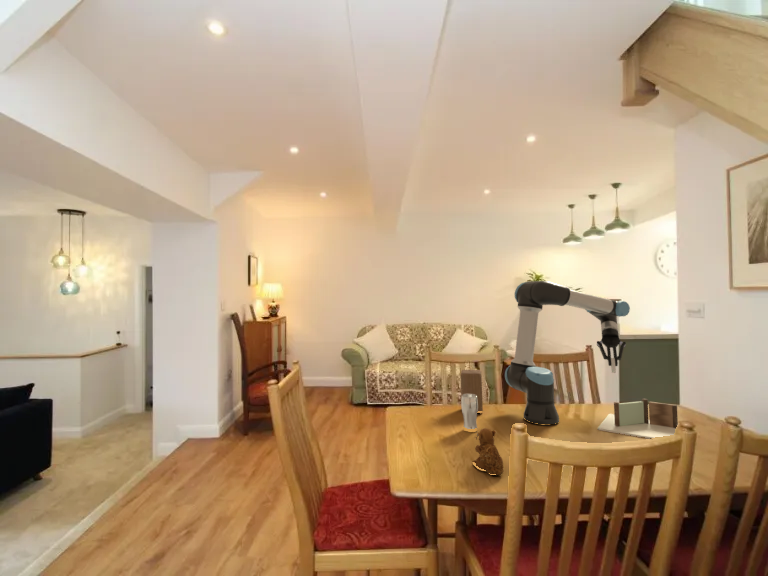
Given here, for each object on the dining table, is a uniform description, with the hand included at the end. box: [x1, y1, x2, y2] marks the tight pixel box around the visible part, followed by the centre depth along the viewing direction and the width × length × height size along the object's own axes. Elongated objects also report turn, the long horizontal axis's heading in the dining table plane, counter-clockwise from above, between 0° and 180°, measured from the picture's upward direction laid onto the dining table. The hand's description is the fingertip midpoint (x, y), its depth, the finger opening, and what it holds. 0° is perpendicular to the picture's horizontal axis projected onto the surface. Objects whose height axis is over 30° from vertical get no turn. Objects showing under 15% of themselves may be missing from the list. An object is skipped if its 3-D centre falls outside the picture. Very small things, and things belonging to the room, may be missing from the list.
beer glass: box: [460, 394, 478, 429], centre depth 169 cm, size 7×7×15 cm
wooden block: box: [460, 369, 484, 411], centre depth 195 cm, size 10×10×20 cm
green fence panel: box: [613, 400, 644, 426], centre depth 167 cm, size 14×2×10 cm, turn 101°
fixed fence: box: [641, 398, 679, 428], centre depth 165 cm, size 12×2×11 cm, turn 50°
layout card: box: [597, 413, 676, 440], centre depth 165 cm, size 27×24×1 cm
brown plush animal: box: [472, 427, 504, 475], centre depth 130 cm, size 10×14×13 cm
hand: (613, 371), depth 186 cm, fingers closed
